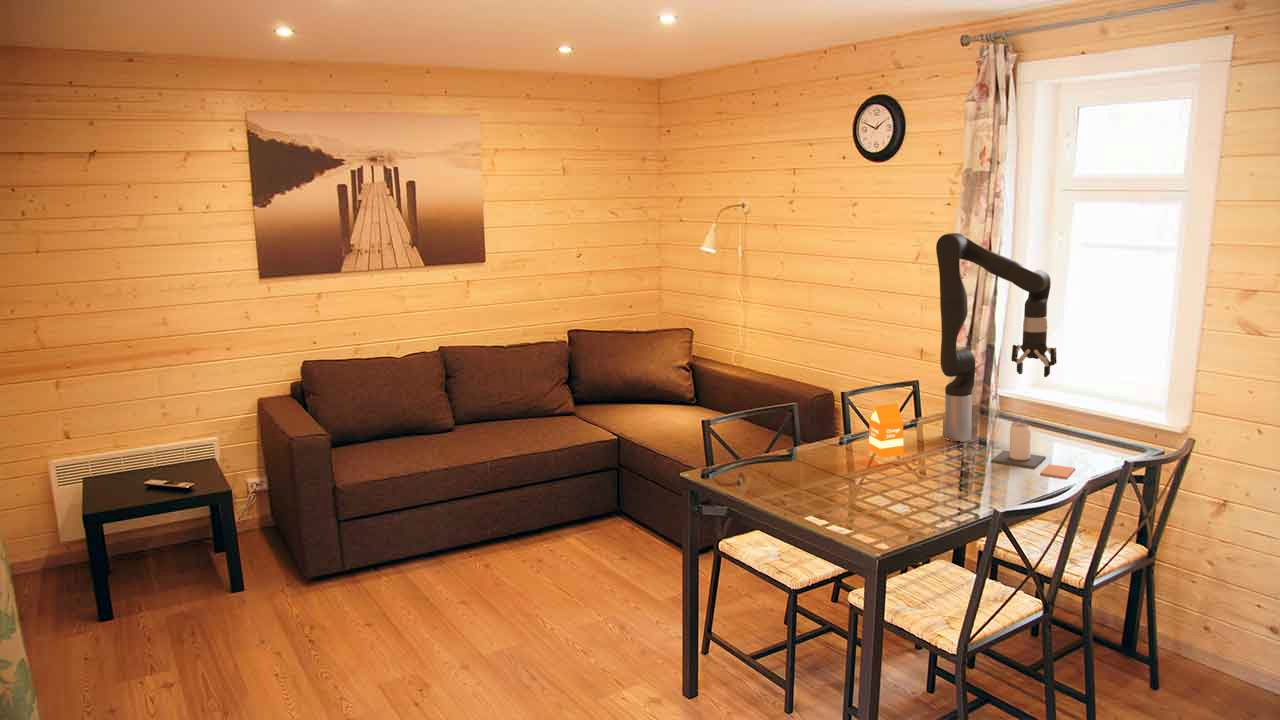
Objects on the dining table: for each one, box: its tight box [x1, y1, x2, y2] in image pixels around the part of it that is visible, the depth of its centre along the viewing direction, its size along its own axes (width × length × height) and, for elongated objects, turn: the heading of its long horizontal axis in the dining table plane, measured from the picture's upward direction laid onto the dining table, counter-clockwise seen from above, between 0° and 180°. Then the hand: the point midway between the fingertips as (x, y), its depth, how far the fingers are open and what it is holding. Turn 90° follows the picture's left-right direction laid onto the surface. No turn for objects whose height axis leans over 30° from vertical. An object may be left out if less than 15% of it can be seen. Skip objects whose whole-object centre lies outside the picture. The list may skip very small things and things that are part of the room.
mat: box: [991, 450, 1047, 470], centre depth 306 cm, size 14×12×1 cm
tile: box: [1039, 463, 1076, 480], centre depth 292 cm, size 8×1×10 cm
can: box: [1009, 421, 1032, 461], centre depth 304 cm, size 6×6×12 cm
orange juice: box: [868, 403, 904, 458], centre depth 312 cm, size 8×9×20 cm
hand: (1033, 375), depth 312 cm, fingers open, 8 cm apart
